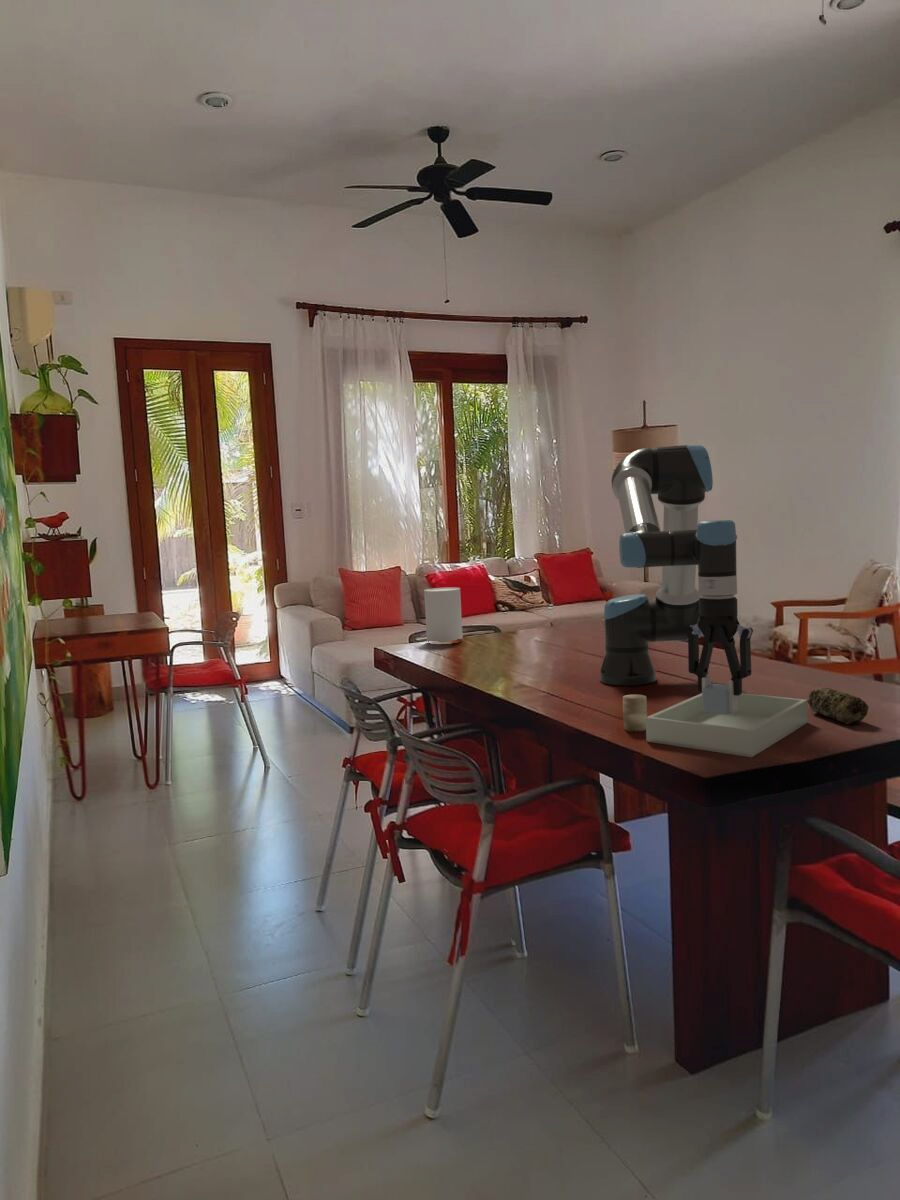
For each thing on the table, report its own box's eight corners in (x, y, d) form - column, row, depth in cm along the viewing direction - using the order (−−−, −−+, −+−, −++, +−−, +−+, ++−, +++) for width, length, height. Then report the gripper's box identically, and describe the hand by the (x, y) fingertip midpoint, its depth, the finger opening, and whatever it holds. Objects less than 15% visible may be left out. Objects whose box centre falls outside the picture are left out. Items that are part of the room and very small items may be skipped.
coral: (804, 713, 194) (804, 686, 193) (829, 710, 195) (829, 683, 194) (845, 728, 180) (845, 699, 179) (872, 725, 181) (871, 696, 180)
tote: (646, 741, 177) (645, 717, 177) (710, 711, 200) (709, 689, 199) (751, 757, 163) (751, 731, 162) (807, 722, 185) (807, 699, 185)
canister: (455, 645, 317) (452, 590, 315) (421, 644, 322) (418, 591, 320) (467, 639, 330) (465, 587, 328) (435, 639, 334) (432, 587, 332)
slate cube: (713, 707, 181) (713, 683, 181) (736, 709, 178) (736, 686, 177) (703, 711, 177) (702, 687, 177) (726, 714, 174) (726, 690, 174)
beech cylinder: (619, 729, 188) (618, 698, 187) (631, 724, 192) (630, 693, 191) (640, 732, 184) (639, 700, 184) (651, 727, 188) (650, 695, 187)
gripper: (668, 597, 179) (671, 708, 181) (754, 599, 167) (756, 718, 169) (684, 593, 184) (687, 701, 186) (769, 595, 172) (770, 710, 174)
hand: (720, 709), depth 178 cm, fingers closed on slate cube, 5 cm apart
